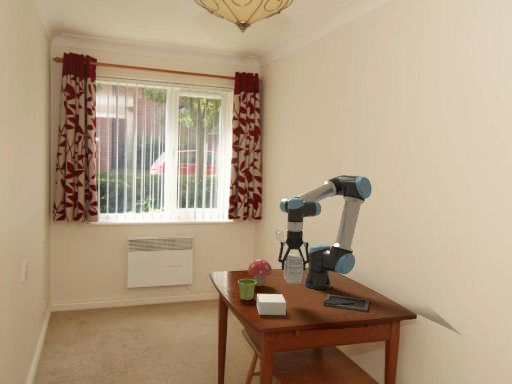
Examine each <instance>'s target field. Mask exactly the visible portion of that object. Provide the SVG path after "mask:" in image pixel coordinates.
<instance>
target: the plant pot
mask: <svg viewBox="0 0 512 384" xmlns="http://www.w3.org/2000/svg"><path fill="white" fill-rule="evenodd" d="M237 283H238V287H239V296H240V297H239V298H240V300H244V301H251V300H252V299H253V297H254V293H255V289H256V285H255V284H256V283H257V282H256V281H255V280H254V279H252V278H251V279H250V278H241V279H239V280H237Z"/></svg>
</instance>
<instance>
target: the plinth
mask: <svg viewBox="0 0 512 384" xmlns="http://www.w3.org/2000/svg"><path fill="white" fill-rule="evenodd" d="M255 306H256V309H257V312H258V315H259V316H260V315H261V316H262V315H263V316H264V315H265V316H286V315H287V313H286V312H287V300H286V299H285V297H284V295H283V294H282V293H280V294H279V293H277V294H276V293H257V294H256V305H255Z"/></svg>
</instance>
